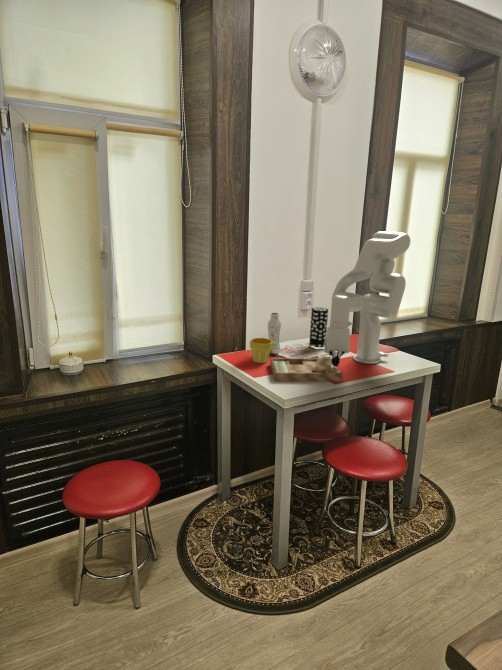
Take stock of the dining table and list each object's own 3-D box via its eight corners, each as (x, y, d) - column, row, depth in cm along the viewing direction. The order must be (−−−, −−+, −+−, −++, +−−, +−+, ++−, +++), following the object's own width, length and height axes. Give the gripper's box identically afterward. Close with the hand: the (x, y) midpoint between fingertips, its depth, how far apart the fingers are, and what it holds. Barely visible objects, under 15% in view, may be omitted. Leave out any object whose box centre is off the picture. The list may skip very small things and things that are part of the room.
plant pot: (272, 358, 207) (273, 338, 204) (270, 365, 197) (271, 344, 194) (250, 356, 208) (251, 336, 205) (248, 363, 198) (248, 343, 195)
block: (327, 365, 191) (328, 354, 190) (330, 369, 187) (331, 358, 185) (316, 365, 191) (317, 354, 190) (319, 369, 186) (319, 358, 185)
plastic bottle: (270, 356, 209) (271, 315, 204) (264, 352, 215) (265, 312, 210) (282, 354, 212) (284, 314, 206) (275, 350, 218) (277, 311, 212)
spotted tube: (307, 344, 229) (309, 307, 223) (322, 344, 230) (325, 307, 224) (311, 349, 221) (313, 311, 215) (327, 349, 222) (330, 311, 216)
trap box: (331, 365, 199) (332, 358, 198) (342, 381, 181) (342, 373, 180) (270, 365, 197) (270, 357, 196) (274, 380, 179) (275, 373, 178)
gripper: (353, 322, 188) (349, 362, 193) (319, 322, 187) (316, 362, 192) (359, 327, 181) (354, 368, 186) (323, 326, 180) (320, 368, 185)
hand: (335, 365), depth 189 cm, fingers closed
